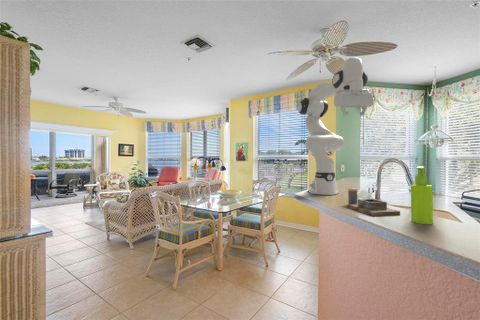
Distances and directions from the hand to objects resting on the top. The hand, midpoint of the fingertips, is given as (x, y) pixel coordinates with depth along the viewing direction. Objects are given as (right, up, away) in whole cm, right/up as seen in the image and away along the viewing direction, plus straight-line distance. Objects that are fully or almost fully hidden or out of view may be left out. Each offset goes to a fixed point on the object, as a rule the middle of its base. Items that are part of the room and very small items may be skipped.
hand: (353, 115), depth 111 cm
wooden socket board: (-2, -46, -18) cm, 49 cm away
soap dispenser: (+5, -46, -36) cm, 58 cm away
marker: (-3, -46, -5) cm, 46 cm away
